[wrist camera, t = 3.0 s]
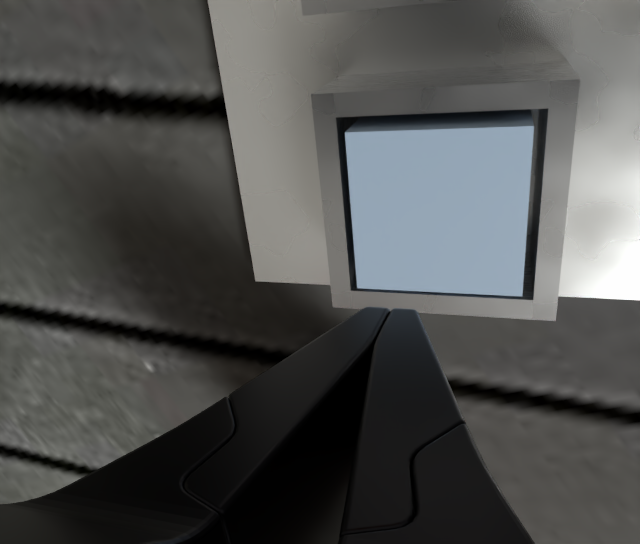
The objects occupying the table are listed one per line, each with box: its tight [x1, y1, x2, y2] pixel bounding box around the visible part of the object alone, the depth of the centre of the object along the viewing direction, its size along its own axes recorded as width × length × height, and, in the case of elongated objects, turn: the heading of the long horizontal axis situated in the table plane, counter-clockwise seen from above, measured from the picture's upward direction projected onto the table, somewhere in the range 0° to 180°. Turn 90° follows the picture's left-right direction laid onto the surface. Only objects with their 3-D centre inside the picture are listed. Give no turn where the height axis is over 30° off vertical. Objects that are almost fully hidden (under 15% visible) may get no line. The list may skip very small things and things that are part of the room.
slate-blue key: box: [345, 109, 534, 296], centre depth 16 cm, size 4×4×3 cm
